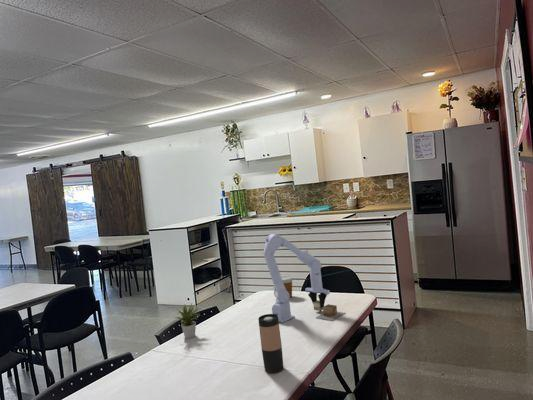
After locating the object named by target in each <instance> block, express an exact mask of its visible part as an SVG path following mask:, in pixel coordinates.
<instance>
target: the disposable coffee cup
mask: <svg viewBox="0 0 533 400" xmlns="http://www.w3.org/2000/svg"><path fill="white" fill-rule="evenodd" d="M281 279H282V282H283V284H284V286H285V288H286V290H287V292H288V293H289V295H290V298H289V299H291V298H293V277H292V276H290V275H287V276H281Z"/></svg>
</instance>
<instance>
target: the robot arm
mask: <svg viewBox="0 0 533 400" xmlns="http://www.w3.org/2000/svg"><path fill="white" fill-rule="evenodd" d="M280 247H281V248H286V249H288V250H289V251H291V252H292V253H294V254H295V255H296V258H297V260H299V261H301V263H303V264H305V265H306V266H307V267H308V268H309V276H310V277H309V278H310V284H311V285H310V286H311V287H306V288H305V290H304V291H305V293H308V297H309V298H310V300H311V303H312V304H313V302H315V301H317V300H318V299H319V301H320V306H321V308H322V307H324V306H325V303H326V299H327V297H328V296H329V295H331V292H330V290H329V289H326V288H323V281H322V280H323V279H322V272H321V269H322V263H321V261H320V260H319V259H318V258H316V257H315V255H312V254H311V253H309V251H308V250H307V249H300V248H298V246H296V245H294V244H293V243H292V242H291V241H290V240H288V239H286V238H285V237H282V236H281V235H279V234H277V233H270V234H269V235H268V236H267V237H266V239H265V243H264V248H263V253H262V254H263V256H264V259H265V262H266V265H267V268H268V271H269V274H270V277H271V281H272V284H273V291H274V292H273V294H274V297H275V303H274V304H273V305H272V307H271V312H272V313H271V314H276V315H277V316H278V321H279V323H285V322H287V321H289V320H291V319H293V318H295V315H292V312H291V304H290V303H291V302H290V299H291V298H290V295H289V293H288V292H287V290H286V288H285V286H284V284H283V282H282V279H281V277H282V276H281V273H280V270H279V267H278V264H277V263H278V262H277V261H276V257H275V255H274V254H275V253H276V251H277V250H278V249H279V248H280Z"/></svg>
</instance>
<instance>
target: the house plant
mask: <svg viewBox="0 0 533 400" xmlns="http://www.w3.org/2000/svg"><path fill="white" fill-rule="evenodd" d="M195 306H196V303H195V304H193V303H191V304H190V305H189V306H188V307H189V308H188V309H187V306H186V304H185V303H184V304H183V305H182V308H181V310H182V311H183V312H182V311H181V310H180V309H178V308H177V309H176V311H177V313H178V314H180V316H181V317H180V316H176V317H175V319H178V320H180V323H181V325H180V326H181V328H182V329H181V330H182V332H183V336H184V338H185V339H191V338H194V337H196V328H197V327H196V325H197V323H196V321H194V319H195V320H198V317H200V312H199V313H196V312H198V311H200V310H202V308H200V307H201V306H200V305H199V306H197V307H196V308H195Z"/></svg>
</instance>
